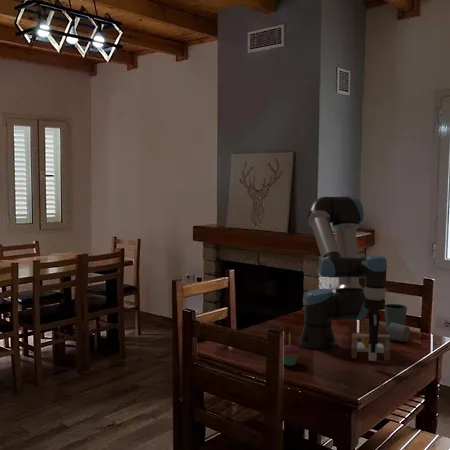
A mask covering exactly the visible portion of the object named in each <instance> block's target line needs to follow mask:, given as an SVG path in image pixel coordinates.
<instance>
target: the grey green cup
mask: <svg viewBox="0 0 450 450" xmlns="http://www.w3.org/2000/svg"><path fill="white" fill-rule="evenodd" d="M407 309H408V307H407V306H406V305H404V304H397V303H388V304H385V309H384V316H385V317H384V321H385V332H387V330H388V326H389V324H390V323H391V322H393V323H397V324H400V325H405V324H406V320H407V319H406V318H407ZM405 326H406V325H405Z"/></svg>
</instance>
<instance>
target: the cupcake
mask: <svg viewBox="0 0 450 450" xmlns="http://www.w3.org/2000/svg"><path fill="white" fill-rule="evenodd" d="M291 335H292V334H291V331H289V333H288V344H284V345H283V346H284V364H285V365H286V366H289V367H290V366H291V367H292V366H295V365H296V364H297V363H296V362H297V360H298V358H299V357H300V356H301V354H302V351H301V349H300V348H299V347H298V346H296V345H294V344H291V340H292V339H291V337H292V336H291ZM284 364H283V365H284Z"/></svg>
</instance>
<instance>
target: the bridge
mask: <svg viewBox="0 0 450 450" xmlns="http://www.w3.org/2000/svg"><path fill="white" fill-rule="evenodd" d="M358 339H361V340H362V339H369V333H363V332H362V333H360V332H358V333H357V332H352V333H351V352H350V353H351V358H352V359H357V358H358V356H357V355H358V351H357V342H358ZM378 341H383V347H384V353H383V360H384V361H390V357H391V356H390V355H391V340H390V335H387V334H378Z"/></svg>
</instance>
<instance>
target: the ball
mask: <svg viewBox="0 0 450 450" xmlns="http://www.w3.org/2000/svg"><path fill="white" fill-rule="evenodd" d="M361 342H362V343H363V345H364V346H366V347H369V344H368V342H369V339H362V338H361Z"/></svg>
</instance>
